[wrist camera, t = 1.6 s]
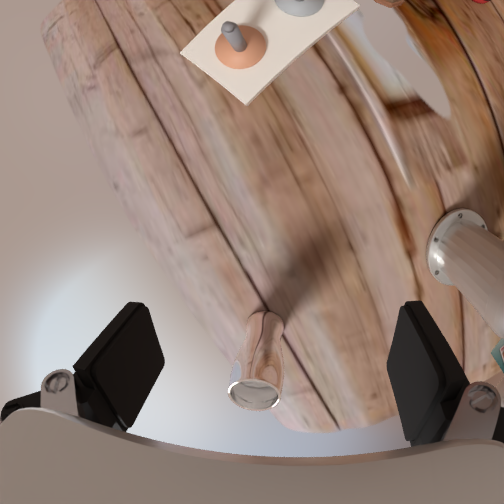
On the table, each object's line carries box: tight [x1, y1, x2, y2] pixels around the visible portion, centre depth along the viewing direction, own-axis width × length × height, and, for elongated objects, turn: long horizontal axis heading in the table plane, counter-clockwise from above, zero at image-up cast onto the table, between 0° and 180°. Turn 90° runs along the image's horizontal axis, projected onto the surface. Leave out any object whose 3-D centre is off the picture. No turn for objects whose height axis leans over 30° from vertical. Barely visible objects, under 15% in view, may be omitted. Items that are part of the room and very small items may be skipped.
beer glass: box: [228, 311, 284, 411], centre depth 39 cm, size 7×7×15 cm
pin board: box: [180, 0, 360, 106], centre depth 24 cm, size 22×12×10 cm, turn 137°
